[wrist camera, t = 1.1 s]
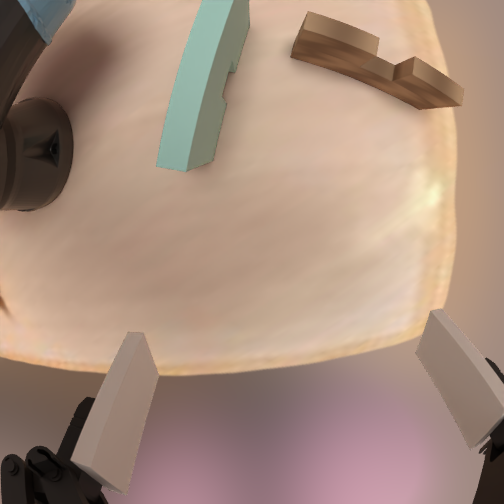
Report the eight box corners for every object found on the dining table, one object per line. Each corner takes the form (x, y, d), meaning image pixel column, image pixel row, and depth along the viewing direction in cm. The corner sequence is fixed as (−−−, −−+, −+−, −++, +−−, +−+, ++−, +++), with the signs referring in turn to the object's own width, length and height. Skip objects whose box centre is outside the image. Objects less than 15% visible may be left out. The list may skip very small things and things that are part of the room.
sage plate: (213, 160, 27) (185, 171, 16) (194, 157, 27) (155, 166, 16) (249, 25, 21) (247, -35, 10) (231, 22, 21) (219, -38, 10)
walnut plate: (290, 57, 23) (303, 28, 15) (294, 42, 22) (308, 11, 15) (419, 109, 24) (461, 106, 17) (422, 95, 24) (463, 88, 16)
